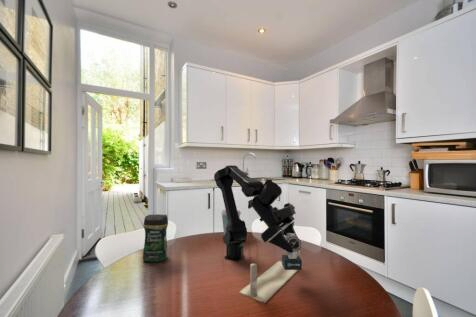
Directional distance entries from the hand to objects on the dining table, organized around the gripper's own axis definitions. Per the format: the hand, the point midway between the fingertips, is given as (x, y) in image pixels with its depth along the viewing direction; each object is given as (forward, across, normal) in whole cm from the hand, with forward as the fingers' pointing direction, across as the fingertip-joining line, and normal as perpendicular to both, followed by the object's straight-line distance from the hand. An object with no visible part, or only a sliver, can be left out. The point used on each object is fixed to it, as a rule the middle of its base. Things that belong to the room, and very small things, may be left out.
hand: (295, 248), depth 77 cm
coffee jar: (-31, -9, +49) cm, 59 cm away
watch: (+4, 0, +6) cm, 7 cm away
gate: (+3, 0, +14) cm, 15 cm away
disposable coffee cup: (-22, +32, +41) cm, 57 cm away
